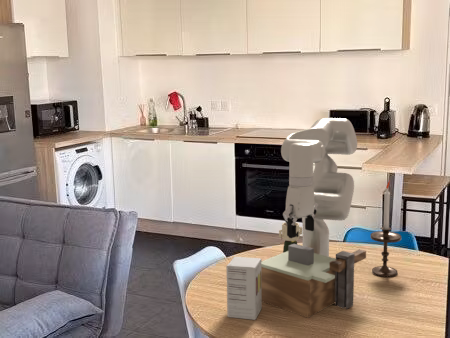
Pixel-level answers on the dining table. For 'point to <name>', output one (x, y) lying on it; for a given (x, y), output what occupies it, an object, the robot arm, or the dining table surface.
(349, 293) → the brown wooden box
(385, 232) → the candlestick
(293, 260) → the lid
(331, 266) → the brown wooden bar
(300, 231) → the character mug
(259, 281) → the supplement box
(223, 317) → the dining table surface
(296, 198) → the robot arm
